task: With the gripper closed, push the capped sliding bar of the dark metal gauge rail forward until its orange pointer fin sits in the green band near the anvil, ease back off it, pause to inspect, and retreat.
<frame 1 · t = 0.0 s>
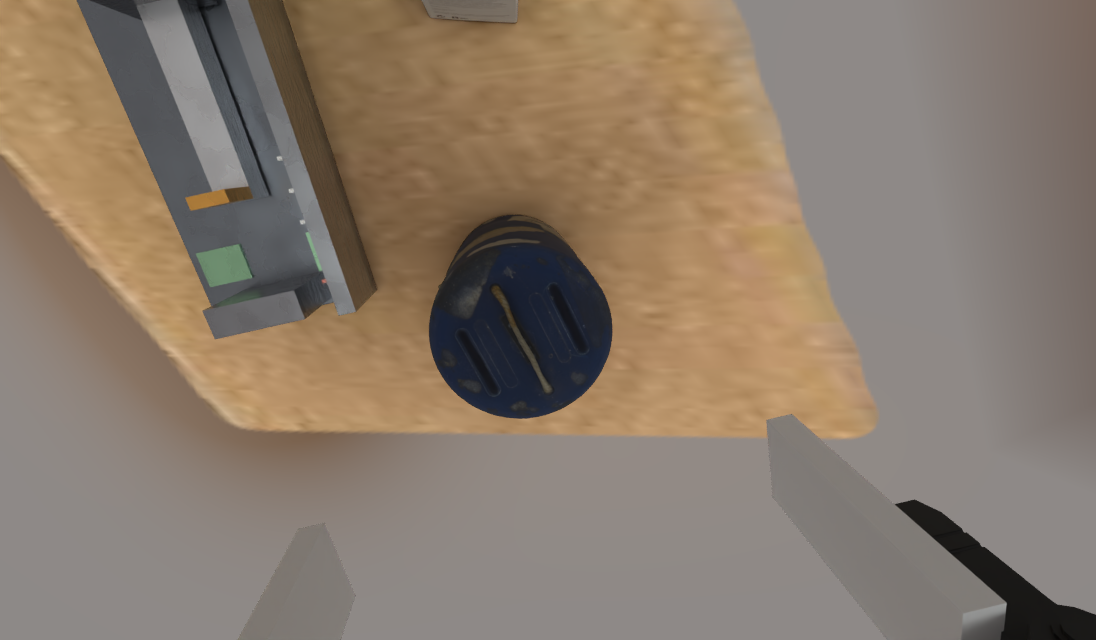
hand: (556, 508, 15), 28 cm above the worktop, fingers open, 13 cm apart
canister: (514, 270, 41), on the worktop
gauge rail: (241, 143, 36), on the worktop
capped sliding bar: (186, 86, 31), point 4 cm above the worktop, slide at 0.0 cm
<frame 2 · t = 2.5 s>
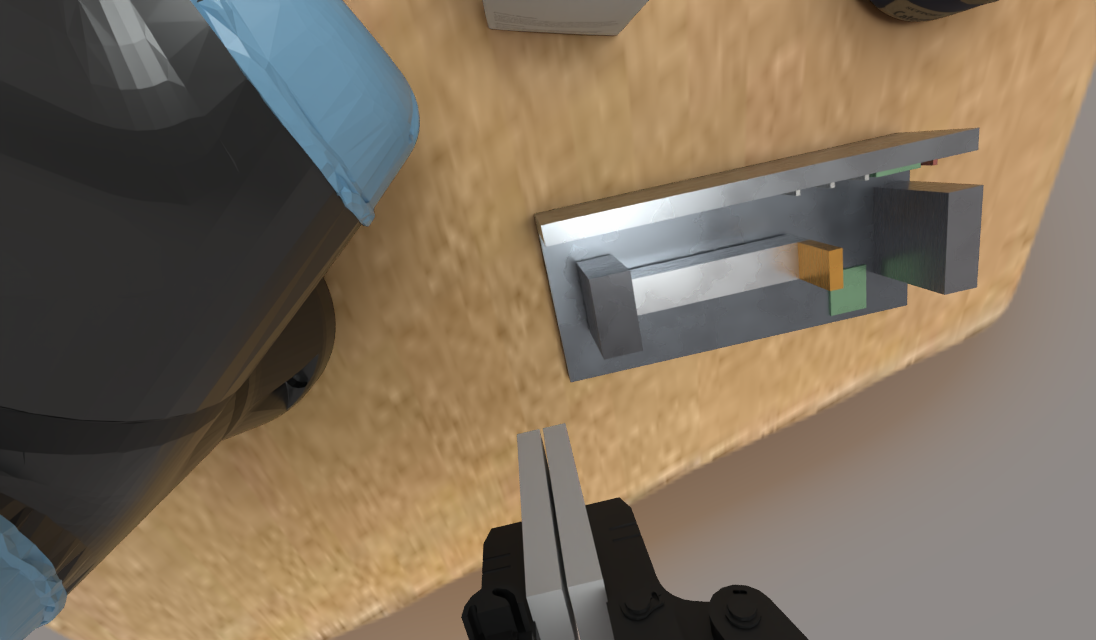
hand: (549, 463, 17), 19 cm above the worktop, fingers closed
gauge rail: (725, 259, 36), on the worktop
capped sliding bar: (702, 284, 32), point 4 cm above the worktop, slide at 0.0 cm
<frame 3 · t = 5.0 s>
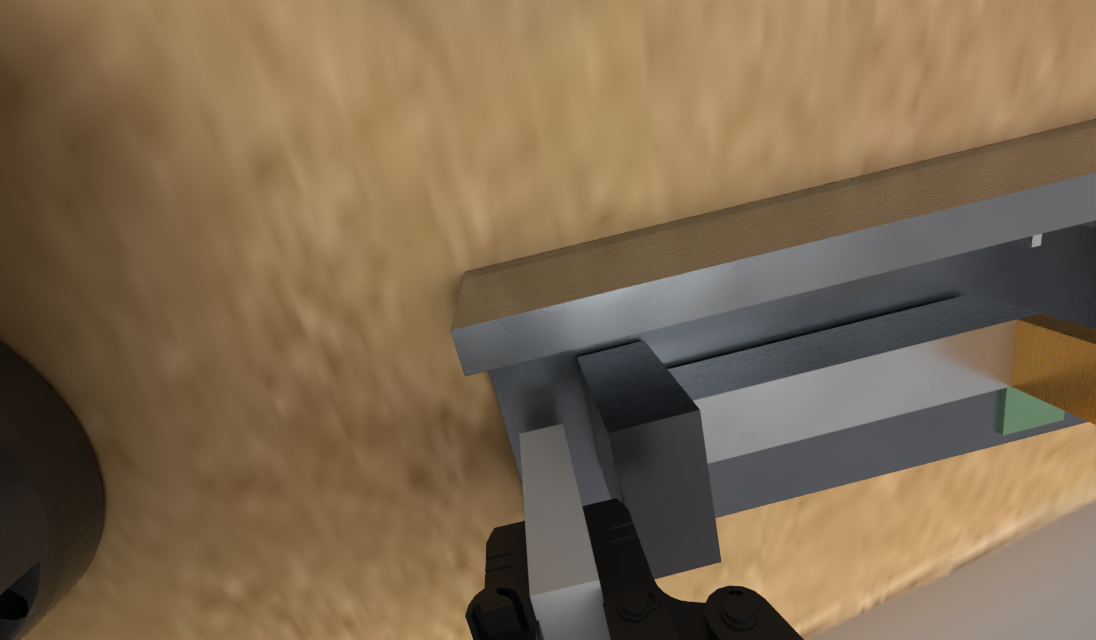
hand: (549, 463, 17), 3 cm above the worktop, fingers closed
gauge rail: (817, 342, 20), on the worktop
capped sliding bar: (831, 407, 16), point 4 cm above the worktop, slide at 1.1 cm, touching gripper
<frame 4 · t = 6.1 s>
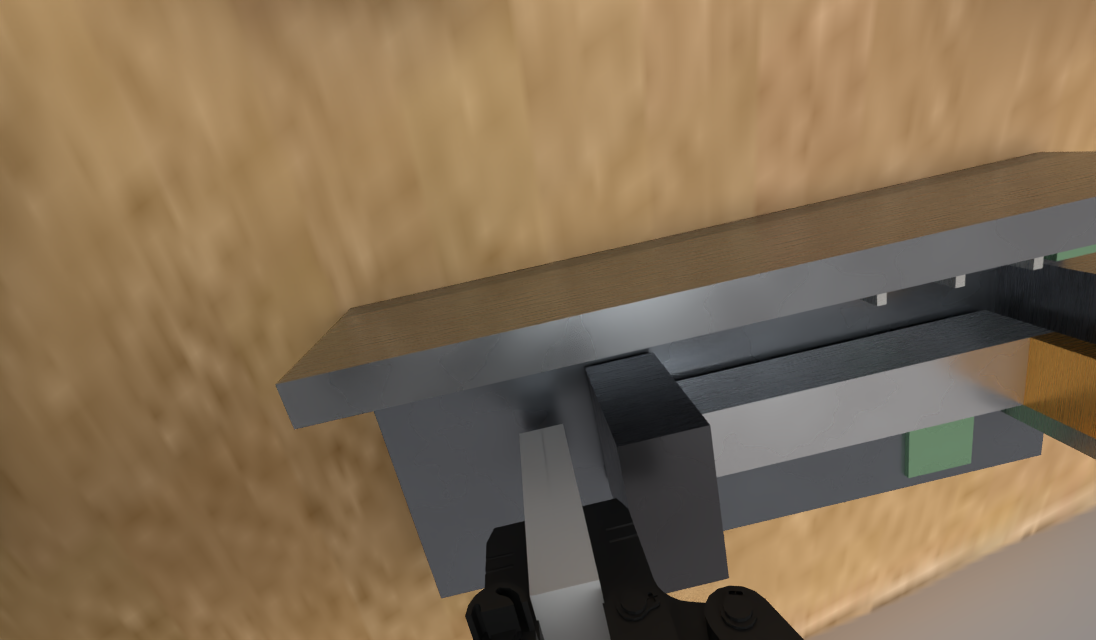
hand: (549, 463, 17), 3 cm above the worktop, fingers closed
gauge rail: (717, 381, 20), on the worktop
capped sliding bar: (841, 423, 16), point 4 cm above the worktop, slide at 5.4 cm, touching gripper
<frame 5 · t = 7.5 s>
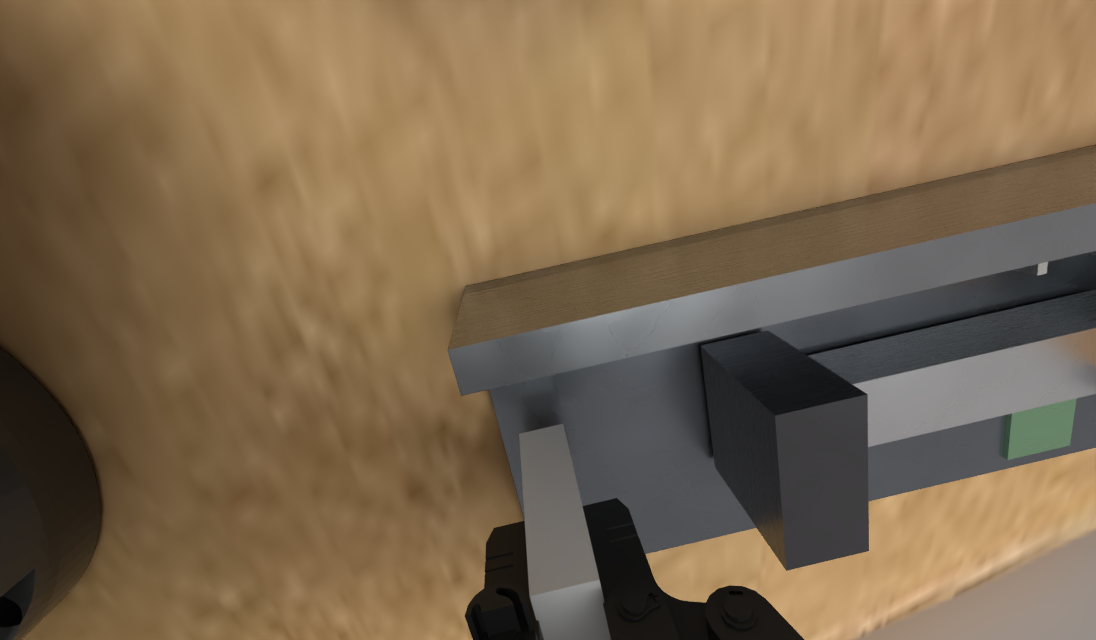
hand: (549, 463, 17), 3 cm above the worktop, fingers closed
gauge rail: (819, 361, 20), on the worktop
capped sliding bar: (968, 399, 16), point 4 cm above the worktop, slide at 5.4 cm
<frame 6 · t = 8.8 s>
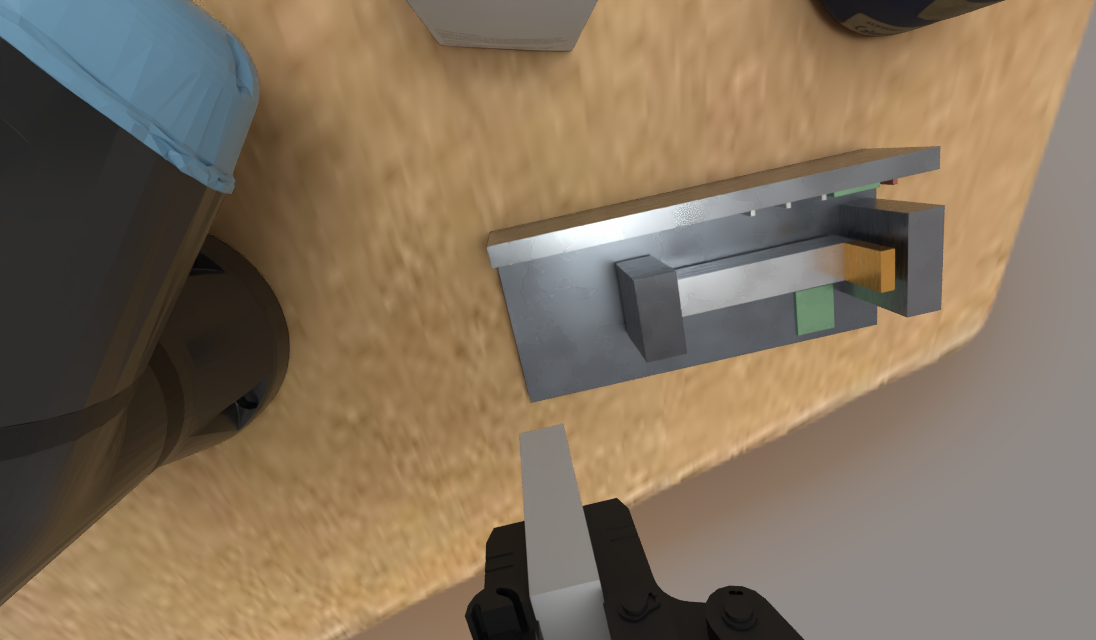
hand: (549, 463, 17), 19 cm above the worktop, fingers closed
gauge rail: (688, 278, 35), on the worktop
capped sliding bar: (746, 285, 31), point 4 cm above the worktop, slide at 5.4 cm
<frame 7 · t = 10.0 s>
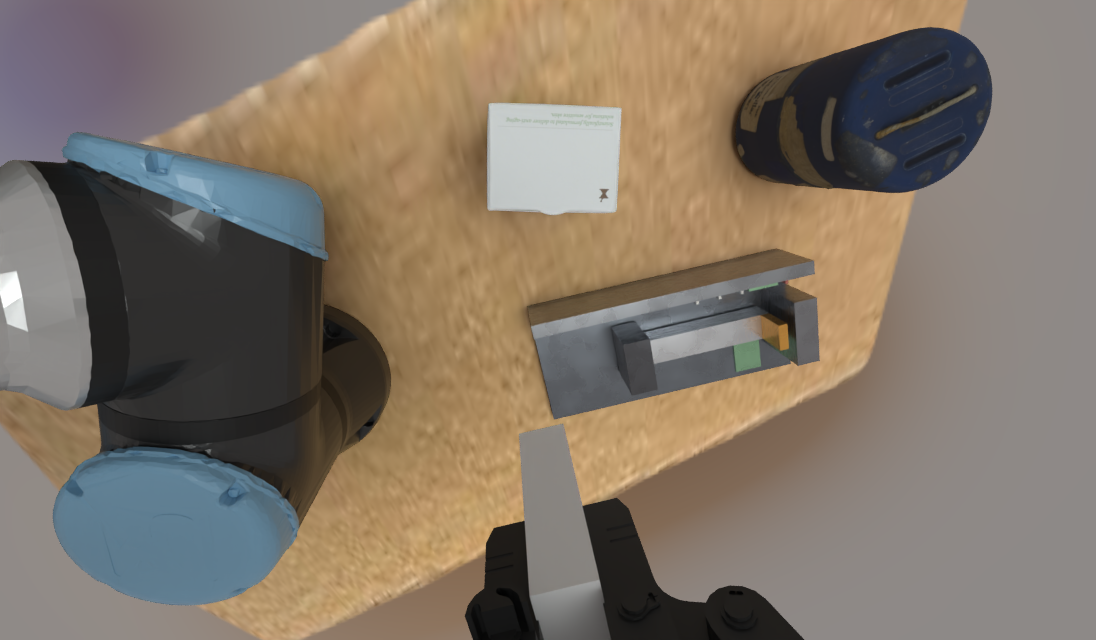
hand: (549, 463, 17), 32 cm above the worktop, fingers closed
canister: (778, 128, 46), on the worktop
skincare box: (538, 159, 45), on the worktop
gauge rail: (661, 333, 51), on the worktop
capped sliding bar: (697, 343, 47), point 4 cm above the worktop, slide at 5.4 cm
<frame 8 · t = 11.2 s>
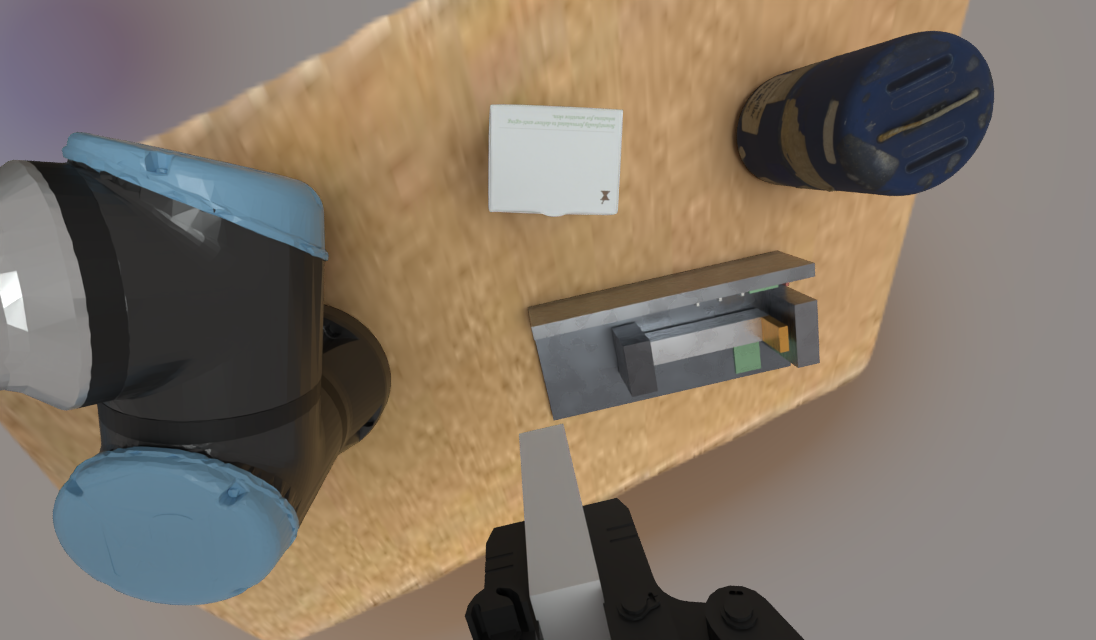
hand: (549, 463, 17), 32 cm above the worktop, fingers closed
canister: (779, 131, 46), on the worktop
skincare box: (539, 160, 45), on the worktop
gauge rail: (661, 335, 51), on the worktop
capped sliding bar: (697, 345, 47), point 4 cm above the worktop, slide at 5.4 cm
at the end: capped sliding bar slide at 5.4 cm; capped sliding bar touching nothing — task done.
